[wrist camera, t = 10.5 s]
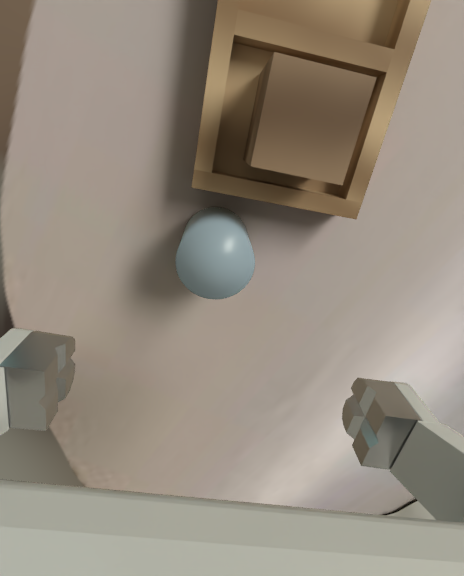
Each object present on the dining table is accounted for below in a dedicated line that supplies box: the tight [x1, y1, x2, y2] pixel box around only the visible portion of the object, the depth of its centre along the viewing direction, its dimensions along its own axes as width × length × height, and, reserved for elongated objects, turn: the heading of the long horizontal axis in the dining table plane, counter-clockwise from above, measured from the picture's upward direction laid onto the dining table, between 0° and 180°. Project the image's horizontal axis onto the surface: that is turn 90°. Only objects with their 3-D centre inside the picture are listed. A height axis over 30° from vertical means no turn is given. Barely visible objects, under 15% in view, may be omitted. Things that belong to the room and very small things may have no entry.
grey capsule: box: [176, 207, 255, 299], centre depth 21 cm, size 4×4×5 cm
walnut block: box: [243, 52, 377, 185], centre depth 17 cm, size 4×4×5 cm
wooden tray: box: [192, 0, 431, 219], centre depth 18 cm, size 16×10×3 cm, turn 169°
